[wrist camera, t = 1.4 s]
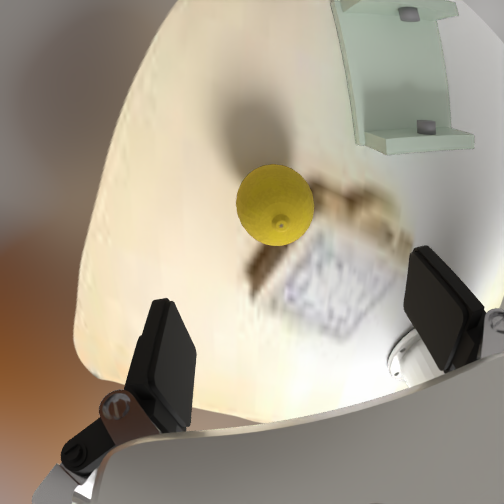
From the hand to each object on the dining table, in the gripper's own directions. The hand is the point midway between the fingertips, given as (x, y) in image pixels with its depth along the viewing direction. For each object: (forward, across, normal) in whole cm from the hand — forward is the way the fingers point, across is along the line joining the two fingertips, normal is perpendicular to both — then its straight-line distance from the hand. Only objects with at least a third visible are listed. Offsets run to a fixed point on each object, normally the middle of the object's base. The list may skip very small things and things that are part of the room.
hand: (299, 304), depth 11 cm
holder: (+16, -13, -8) cm, 22 cm away
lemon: (+16, 0, +1) cm, 16 cm away
